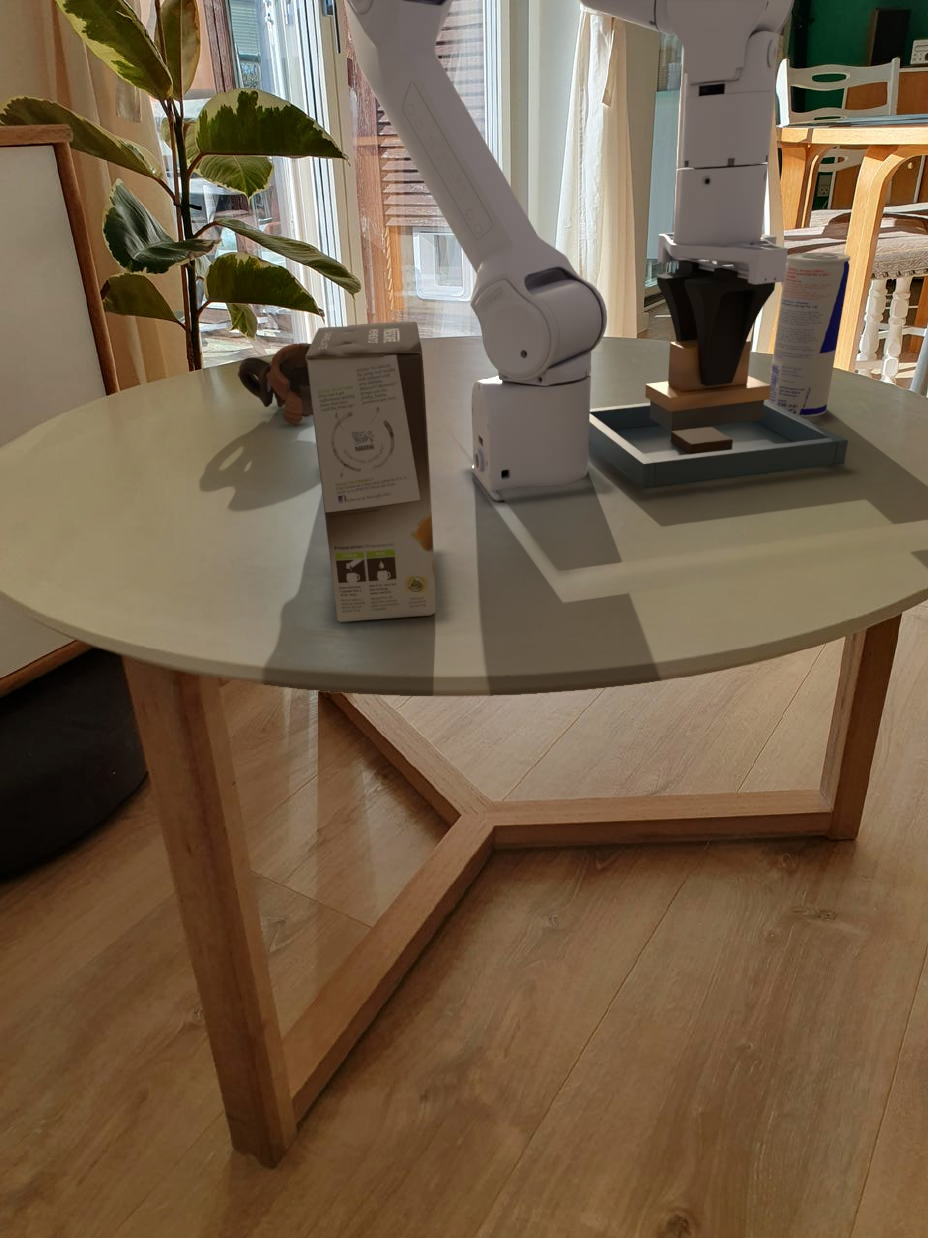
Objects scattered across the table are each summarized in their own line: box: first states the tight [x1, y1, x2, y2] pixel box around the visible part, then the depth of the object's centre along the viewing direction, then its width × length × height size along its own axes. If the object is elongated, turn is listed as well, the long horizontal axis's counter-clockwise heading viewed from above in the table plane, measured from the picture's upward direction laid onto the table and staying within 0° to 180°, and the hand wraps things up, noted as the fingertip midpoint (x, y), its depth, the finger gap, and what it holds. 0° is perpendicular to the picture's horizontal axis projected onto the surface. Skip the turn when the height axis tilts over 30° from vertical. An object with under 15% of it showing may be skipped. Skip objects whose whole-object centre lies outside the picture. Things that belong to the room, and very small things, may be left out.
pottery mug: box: [237, 342, 313, 427], centre depth 93 cm, size 12×10×8 cm
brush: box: [644, 339, 771, 431], centre depth 63 cm, size 8×4×6 cm, turn 103°
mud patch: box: [671, 427, 733, 455], centre depth 78 cm, size 4×4×1 cm
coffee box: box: [305, 321, 437, 623], centre depth 54 cm, size 9×6×16 cm
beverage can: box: [767, 252, 851, 418], centre depth 84 cm, size 6×6×15 cm
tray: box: [589, 400, 849, 490], centre depth 78 cm, size 18×16×3 cm
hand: (707, 378), depth 63 cm, fingers closed on brush, 2 cm apart
